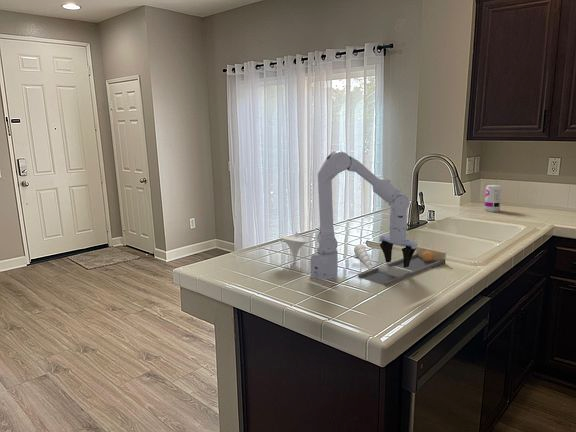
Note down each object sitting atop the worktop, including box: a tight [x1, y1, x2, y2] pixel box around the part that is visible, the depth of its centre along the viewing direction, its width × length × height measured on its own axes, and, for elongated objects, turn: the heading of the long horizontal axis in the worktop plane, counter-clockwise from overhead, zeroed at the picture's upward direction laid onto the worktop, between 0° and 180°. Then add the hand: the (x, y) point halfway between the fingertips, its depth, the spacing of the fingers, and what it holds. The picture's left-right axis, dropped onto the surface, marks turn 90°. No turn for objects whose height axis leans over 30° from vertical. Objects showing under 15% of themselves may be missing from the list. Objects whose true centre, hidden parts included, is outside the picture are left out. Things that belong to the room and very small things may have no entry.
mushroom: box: [280, 231, 308, 263], centre depth 172 cm, size 10×11×12 cm
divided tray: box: [357, 245, 447, 287], centre depth 159 cm, size 36×12×8 cm, turn 130°
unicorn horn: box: [353, 244, 373, 270], centre depth 169 cm, size 5×24×5 cm, turn 179°
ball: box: [422, 251, 433, 262], centre depth 166 cm, size 4×4×4 cm
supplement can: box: [483, 184, 502, 213], centre depth 258 cm, size 8×8×15 cm
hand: (397, 264), depth 156 cm, fingers open, 7 cm apart
